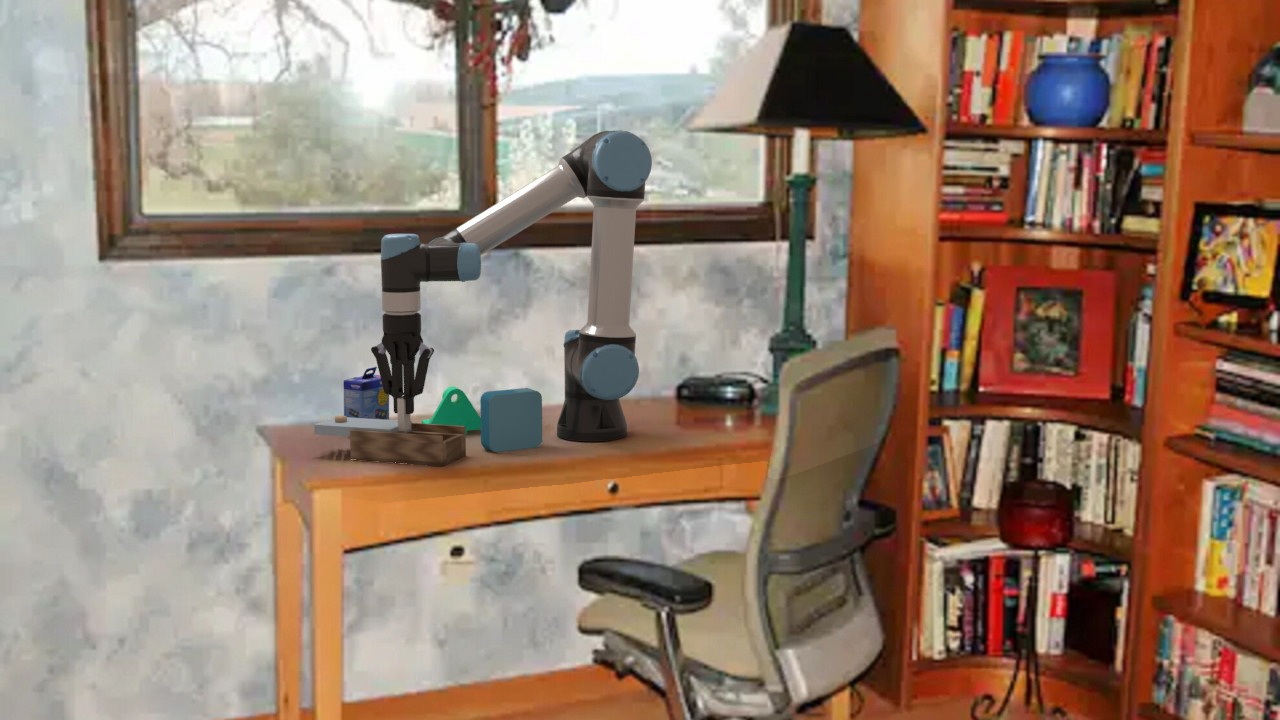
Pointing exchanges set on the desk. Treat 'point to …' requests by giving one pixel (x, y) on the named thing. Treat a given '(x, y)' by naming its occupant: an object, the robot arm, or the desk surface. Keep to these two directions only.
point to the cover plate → (355, 426)
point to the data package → (511, 419)
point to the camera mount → (455, 411)
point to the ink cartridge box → (366, 397)
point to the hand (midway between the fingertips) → (404, 429)
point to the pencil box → (411, 445)
